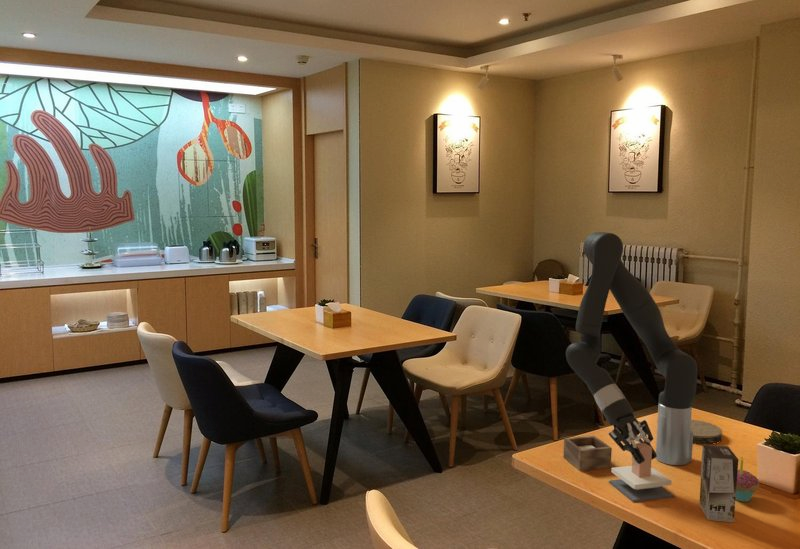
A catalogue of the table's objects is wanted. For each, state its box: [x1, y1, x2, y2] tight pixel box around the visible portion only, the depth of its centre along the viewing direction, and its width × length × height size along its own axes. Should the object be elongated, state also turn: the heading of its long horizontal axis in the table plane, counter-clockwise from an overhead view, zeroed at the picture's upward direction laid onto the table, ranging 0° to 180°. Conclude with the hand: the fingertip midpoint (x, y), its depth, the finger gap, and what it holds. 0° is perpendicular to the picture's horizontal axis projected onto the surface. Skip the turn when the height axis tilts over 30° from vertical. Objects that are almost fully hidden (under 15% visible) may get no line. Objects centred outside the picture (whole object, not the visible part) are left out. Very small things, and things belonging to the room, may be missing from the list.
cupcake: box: [735, 458, 760, 502], centre depth 177 cm, size 9×8×12 cm
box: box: [563, 435, 613, 472], centre depth 200 cm, size 10×10×6 cm
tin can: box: [691, 419, 723, 445], centre depth 223 cm, size 16×16×3 cm
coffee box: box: [699, 444, 740, 523], centre depth 169 cm, size 9×6×16 cm
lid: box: [611, 442, 672, 490], centre depth 182 cm, size 11×11×10 cm
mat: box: [608, 478, 675, 503], centre depth 183 cm, size 12×12×1 cm
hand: (647, 460), depth 180 cm, fingers closed on lid, 4 cm apart
